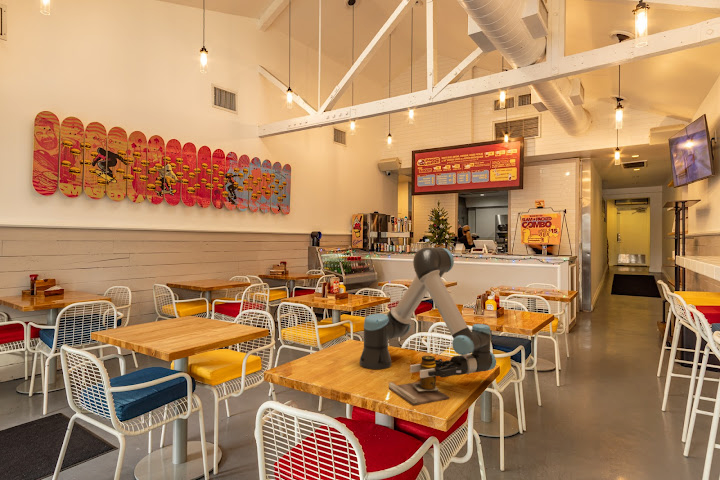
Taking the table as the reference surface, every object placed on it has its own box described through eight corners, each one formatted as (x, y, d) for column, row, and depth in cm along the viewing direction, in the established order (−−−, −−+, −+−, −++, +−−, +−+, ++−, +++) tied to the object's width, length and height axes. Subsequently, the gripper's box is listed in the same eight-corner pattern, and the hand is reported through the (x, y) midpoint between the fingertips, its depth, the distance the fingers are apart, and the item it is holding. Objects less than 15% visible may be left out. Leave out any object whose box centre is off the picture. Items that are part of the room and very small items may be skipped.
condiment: (439, 390, 153) (439, 359, 153) (418, 391, 151) (419, 360, 151) (431, 383, 160) (432, 354, 160) (412, 384, 158) (412, 354, 158)
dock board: (422, 383, 166) (422, 377, 166) (449, 398, 149) (449, 392, 149) (388, 388, 159) (389, 382, 159) (413, 405, 142) (413, 399, 142)
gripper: (478, 381, 155) (429, 389, 145) (448, 367, 172) (402, 373, 162) (478, 362, 155) (429, 369, 145) (448, 349, 172) (402, 355, 162)
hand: (415, 371), depth 153 cm, fingers closed on condiment, 6 cm apart
